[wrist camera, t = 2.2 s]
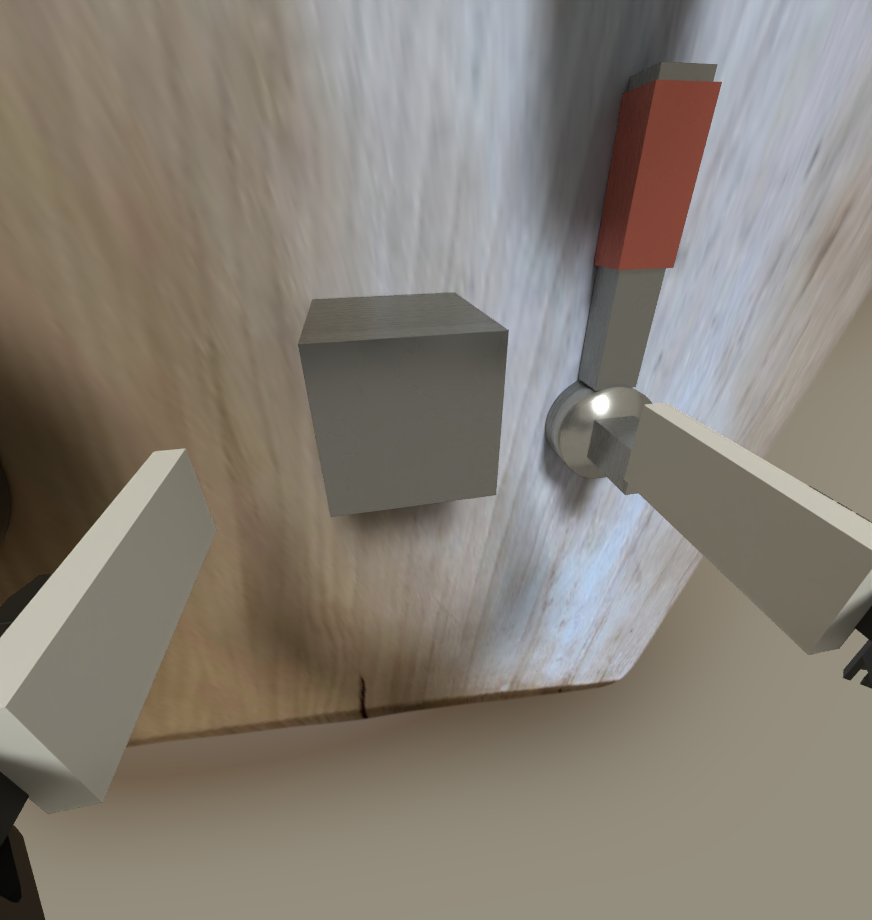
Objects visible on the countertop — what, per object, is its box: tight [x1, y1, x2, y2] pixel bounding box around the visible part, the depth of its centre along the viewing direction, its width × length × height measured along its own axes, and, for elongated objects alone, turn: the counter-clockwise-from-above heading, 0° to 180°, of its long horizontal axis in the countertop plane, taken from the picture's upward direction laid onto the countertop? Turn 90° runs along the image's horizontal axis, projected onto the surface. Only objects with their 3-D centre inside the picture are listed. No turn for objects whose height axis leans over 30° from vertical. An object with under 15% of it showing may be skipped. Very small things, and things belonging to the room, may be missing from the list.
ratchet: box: [545, 62, 722, 495], centre depth 18 cm, size 5×17×6 cm, turn 1°
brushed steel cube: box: [298, 293, 509, 517], centre depth 17 cm, size 6×6×7 cm
